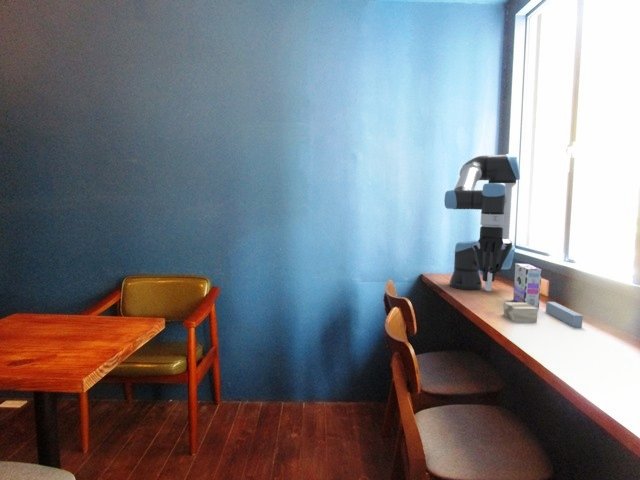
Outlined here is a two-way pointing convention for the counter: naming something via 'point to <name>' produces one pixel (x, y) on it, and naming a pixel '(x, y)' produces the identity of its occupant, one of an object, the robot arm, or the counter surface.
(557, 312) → the blue-grey bar
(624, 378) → the counter surface
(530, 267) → the candy box
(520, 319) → the block
